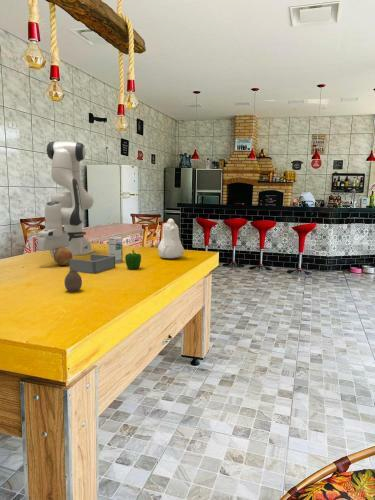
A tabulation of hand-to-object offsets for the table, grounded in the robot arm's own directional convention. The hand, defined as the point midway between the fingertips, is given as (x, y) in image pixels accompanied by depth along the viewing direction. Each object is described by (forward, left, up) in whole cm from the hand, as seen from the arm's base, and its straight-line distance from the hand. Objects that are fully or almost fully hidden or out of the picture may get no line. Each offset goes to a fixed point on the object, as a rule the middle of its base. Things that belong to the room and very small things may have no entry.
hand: (54, 256), depth 211 cm
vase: (+39, +45, -4) cm, 60 cm away
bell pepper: (-11, +43, -4) cm, 45 cm away
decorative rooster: (-53, +45, -4) cm, 70 cm away
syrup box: (-22, +25, -4) cm, 33 cm away
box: (0, +25, -4) cm, 25 cm away
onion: (0, +6, -4) cm, 7 cm away
